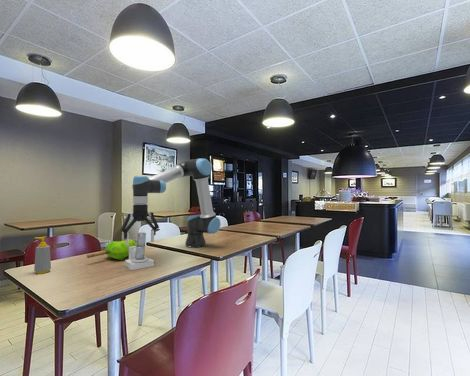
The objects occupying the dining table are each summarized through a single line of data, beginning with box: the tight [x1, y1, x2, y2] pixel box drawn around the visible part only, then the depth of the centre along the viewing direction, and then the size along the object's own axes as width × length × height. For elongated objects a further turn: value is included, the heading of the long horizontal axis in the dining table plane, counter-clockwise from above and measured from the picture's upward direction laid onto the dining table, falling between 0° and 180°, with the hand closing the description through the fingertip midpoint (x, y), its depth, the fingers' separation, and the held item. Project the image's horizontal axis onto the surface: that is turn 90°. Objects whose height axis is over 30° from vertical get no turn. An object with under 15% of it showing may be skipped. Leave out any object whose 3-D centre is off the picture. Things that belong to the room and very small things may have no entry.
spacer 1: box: [135, 232, 147, 247], centre depth 142 cm, size 5×5×7 cm
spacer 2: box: [135, 245, 146, 260], centre depth 142 cm, size 5×5×7 cm
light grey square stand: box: [124, 246, 155, 271], centre depth 143 cm, size 12×12×10 cm
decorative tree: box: [86, 238, 137, 261], centre depth 157 cm, size 18×10×30 cm
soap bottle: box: [33, 236, 52, 275], centre depth 132 cm, size 7×7×18 cm
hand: (140, 243), depth 142 cm, fingers open, 13 cm apart
